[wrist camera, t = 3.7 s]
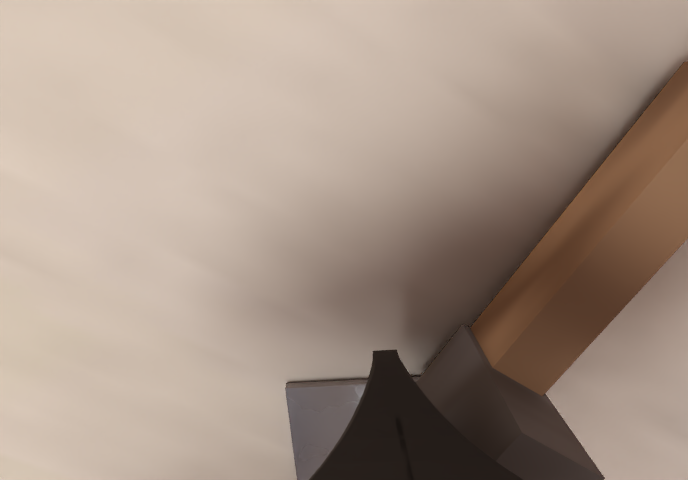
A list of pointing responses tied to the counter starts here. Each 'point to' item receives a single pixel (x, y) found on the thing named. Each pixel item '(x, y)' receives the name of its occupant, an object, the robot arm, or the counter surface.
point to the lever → (568, 299)
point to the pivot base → (320, 418)
